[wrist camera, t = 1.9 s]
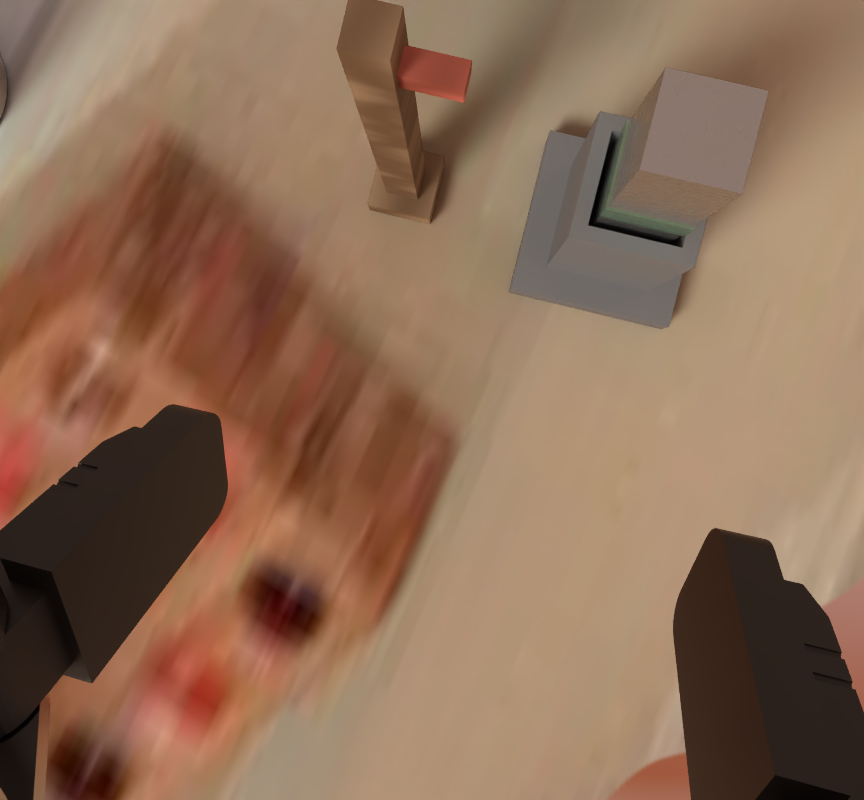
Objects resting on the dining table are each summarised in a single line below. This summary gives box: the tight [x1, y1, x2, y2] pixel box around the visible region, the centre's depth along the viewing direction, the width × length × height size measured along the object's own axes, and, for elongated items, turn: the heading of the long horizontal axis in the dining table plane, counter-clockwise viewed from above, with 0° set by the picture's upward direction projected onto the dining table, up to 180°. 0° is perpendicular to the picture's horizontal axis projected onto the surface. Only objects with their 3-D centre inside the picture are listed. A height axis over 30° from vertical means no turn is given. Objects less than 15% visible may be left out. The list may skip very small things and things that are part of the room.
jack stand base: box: [509, 111, 708, 329], centre depth 35 cm, size 10×10×9 cm
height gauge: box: [337, 0, 472, 224], centre depth 31 cm, size 6×4×18 cm
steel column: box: [588, 67, 769, 244], centre depth 31 cm, size 4×4×14 cm
